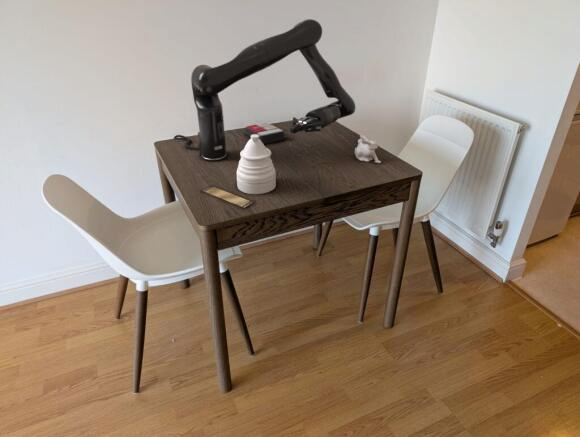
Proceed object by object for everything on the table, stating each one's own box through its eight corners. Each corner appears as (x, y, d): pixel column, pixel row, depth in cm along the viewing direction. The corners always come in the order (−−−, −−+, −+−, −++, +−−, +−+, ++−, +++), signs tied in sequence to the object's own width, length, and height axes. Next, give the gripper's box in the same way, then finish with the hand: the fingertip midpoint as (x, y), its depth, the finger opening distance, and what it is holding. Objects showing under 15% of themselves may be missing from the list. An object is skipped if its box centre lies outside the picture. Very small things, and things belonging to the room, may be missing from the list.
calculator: (266, 121, 187) (284, 129, 176) (267, 130, 189) (284, 139, 178) (244, 125, 182) (260, 134, 171) (245, 135, 184) (261, 144, 173)
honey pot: (278, 192, 138) (277, 139, 129) (238, 195, 136) (234, 142, 127) (273, 175, 149) (272, 125, 139) (236, 178, 147) (232, 127, 138)
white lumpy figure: (382, 162, 158) (385, 138, 153) (366, 167, 155) (369, 142, 150) (361, 152, 167) (363, 128, 162) (345, 156, 163) (347, 132, 158)
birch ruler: (203, 191, 139) (203, 190, 138) (212, 186, 141) (212, 186, 141) (244, 208, 129) (244, 207, 129) (253, 203, 132) (252, 202, 132)
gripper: (305, 105, 162) (277, 116, 150) (335, 111, 155) (307, 123, 143) (305, 124, 166) (277, 136, 154) (333, 131, 159) (307, 145, 147)
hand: (292, 130), depth 149 cm, fingers closed
